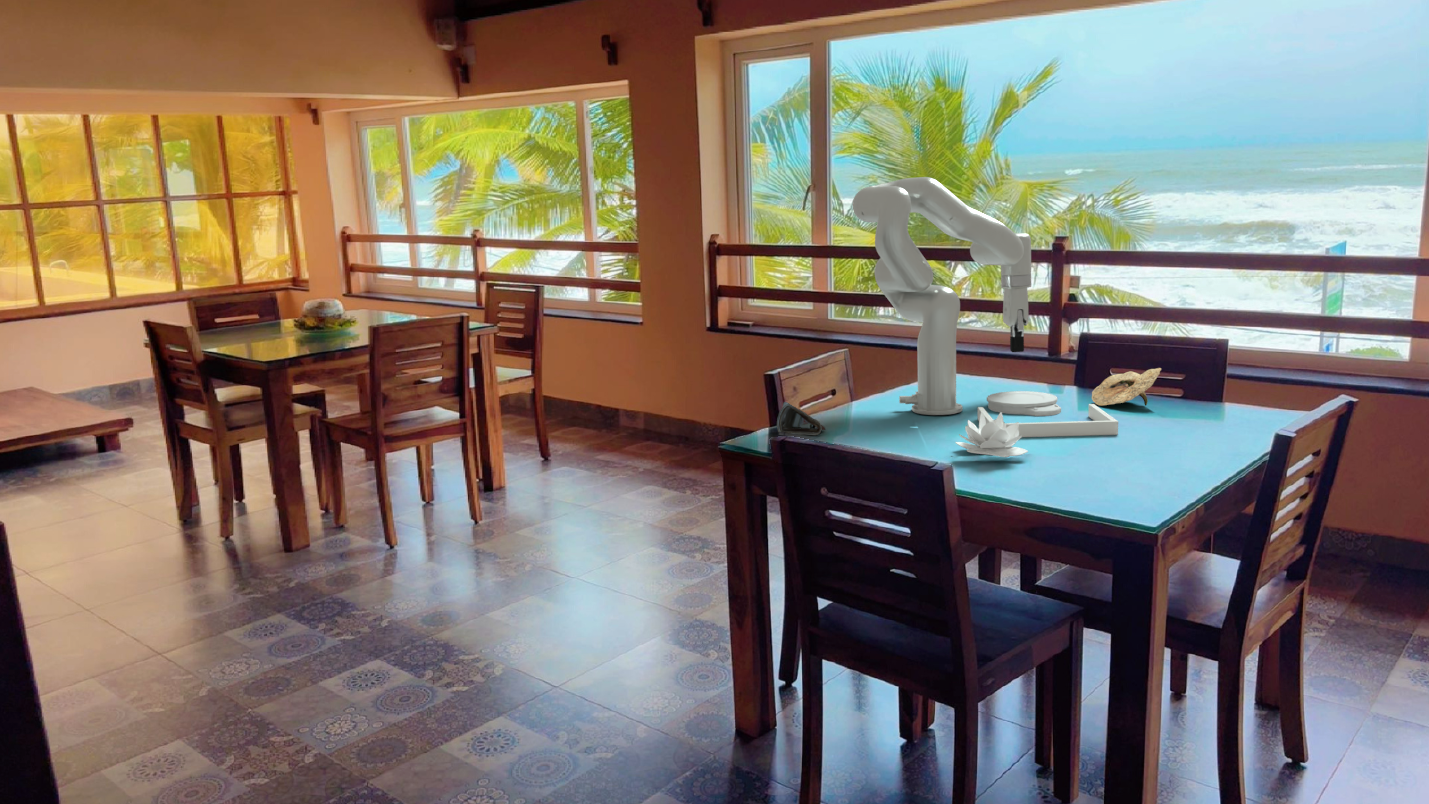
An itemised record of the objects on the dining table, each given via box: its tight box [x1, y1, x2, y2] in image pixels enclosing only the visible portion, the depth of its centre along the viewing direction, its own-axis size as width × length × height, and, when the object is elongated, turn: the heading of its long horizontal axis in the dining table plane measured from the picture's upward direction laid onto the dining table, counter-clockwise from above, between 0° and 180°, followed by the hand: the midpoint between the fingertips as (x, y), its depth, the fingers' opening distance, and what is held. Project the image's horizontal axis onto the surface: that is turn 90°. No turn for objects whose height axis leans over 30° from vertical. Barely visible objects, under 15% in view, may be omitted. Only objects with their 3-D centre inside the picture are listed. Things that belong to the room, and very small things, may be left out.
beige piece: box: [1091, 367, 1162, 406], centre depth 266 cm, size 18×14×8 cm
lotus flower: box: [955, 412, 1029, 458], centre depth 224 cm, size 14×15×9 cm
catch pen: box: [977, 403, 1119, 438], centre depth 246 cm, size 27×20×3 cm
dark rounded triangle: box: [776, 401, 826, 436], centre depth 251 cm, size 10×7×12 cm
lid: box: [986, 390, 1062, 417], centre depth 267 cm, size 17×20×3 cm
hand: (1017, 351), depth 278 cm, fingers closed
